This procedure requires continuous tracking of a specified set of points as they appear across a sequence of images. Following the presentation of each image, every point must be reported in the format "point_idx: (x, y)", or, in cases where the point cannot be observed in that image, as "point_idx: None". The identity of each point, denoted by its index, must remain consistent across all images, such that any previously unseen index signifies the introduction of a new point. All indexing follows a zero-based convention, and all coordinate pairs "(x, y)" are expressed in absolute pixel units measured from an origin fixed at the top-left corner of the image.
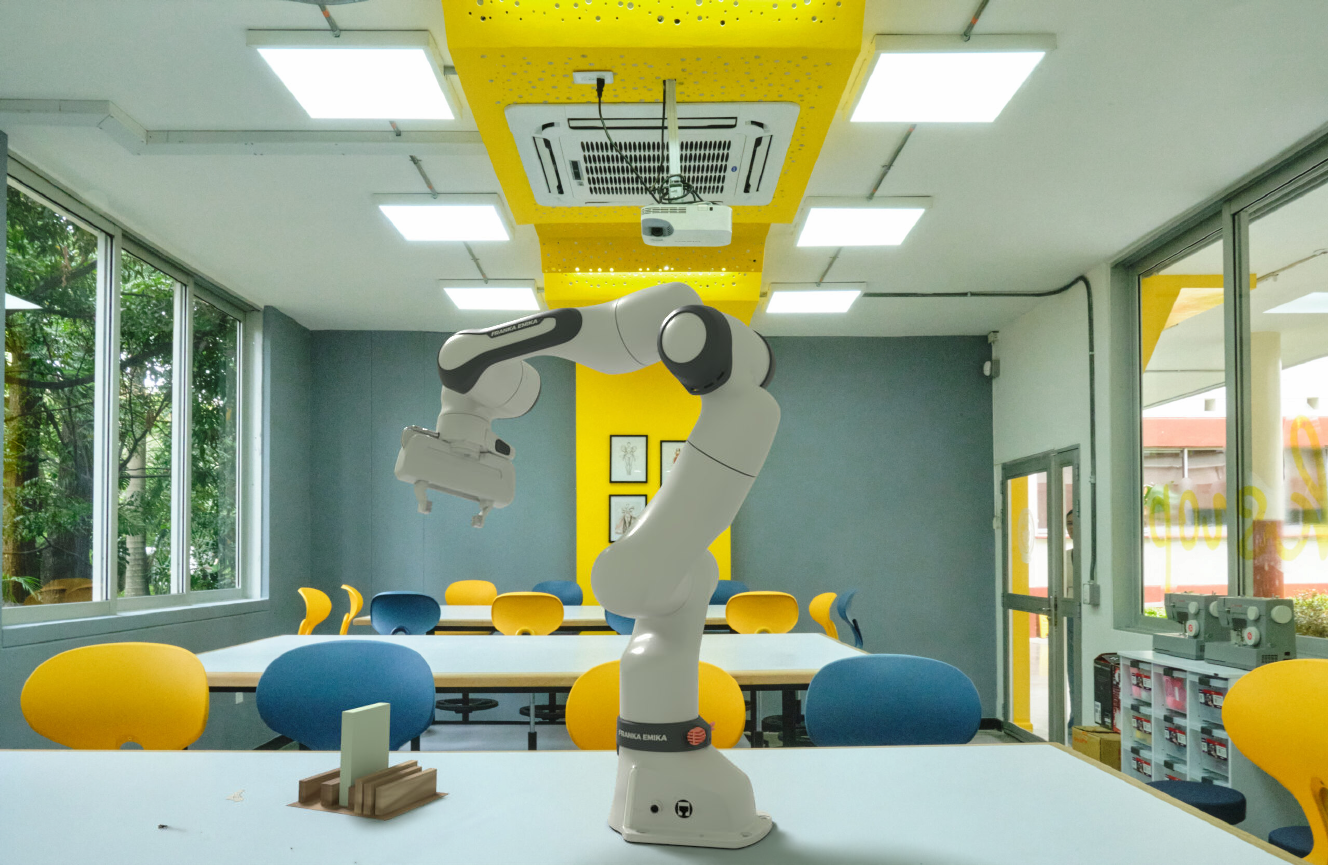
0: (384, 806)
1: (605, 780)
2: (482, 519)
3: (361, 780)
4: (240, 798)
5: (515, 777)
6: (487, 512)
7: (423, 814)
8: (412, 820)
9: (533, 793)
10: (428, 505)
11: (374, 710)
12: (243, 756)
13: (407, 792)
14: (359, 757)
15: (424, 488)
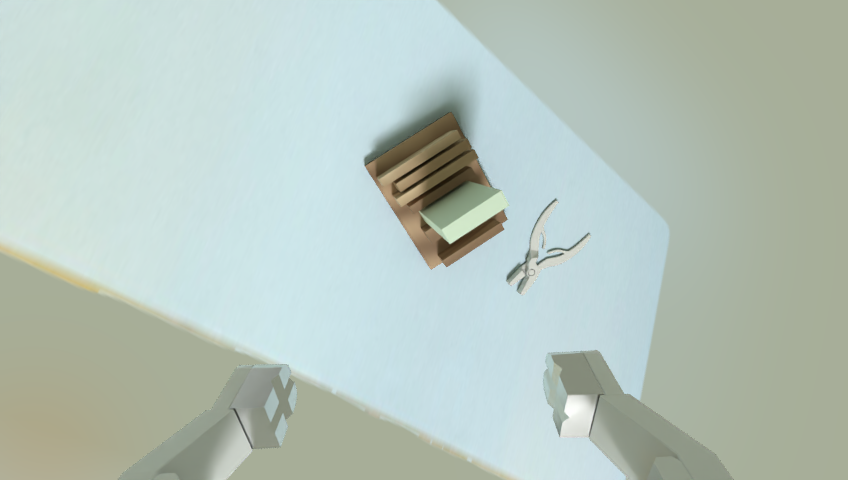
0: (448, 132)
1: (154, 137)
2: (237, 387)
3: (474, 150)
4: (530, 265)
5: (259, 218)
6: (183, 434)
7: (402, 137)
8: (418, 124)
9: (267, 139)
10: (579, 371)
11: (466, 211)
12: (478, 441)
13: (419, 151)
14: (469, 191)
15: (676, 457)
